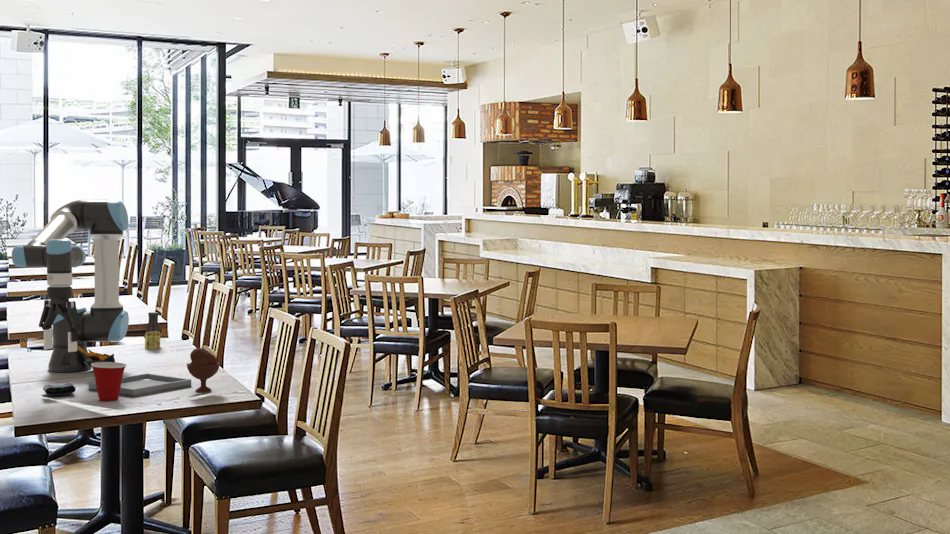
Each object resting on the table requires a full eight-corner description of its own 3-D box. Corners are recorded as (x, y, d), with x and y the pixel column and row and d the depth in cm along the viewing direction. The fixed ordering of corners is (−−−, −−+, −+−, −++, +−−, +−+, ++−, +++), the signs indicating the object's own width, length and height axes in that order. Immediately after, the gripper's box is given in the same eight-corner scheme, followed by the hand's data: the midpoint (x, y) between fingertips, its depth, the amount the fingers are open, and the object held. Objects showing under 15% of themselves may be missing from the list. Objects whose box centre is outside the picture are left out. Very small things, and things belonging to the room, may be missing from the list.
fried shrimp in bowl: (124, 365, 336) (99, 324, 333) (98, 380, 328) (72, 338, 326) (116, 368, 342) (92, 328, 340) (91, 383, 335) (65, 342, 333)
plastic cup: (126, 401, 285) (126, 364, 284) (90, 403, 281) (89, 366, 281) (127, 395, 295) (127, 360, 295) (92, 397, 292) (92, 361, 291)
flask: (45, 387, 290) (42, 384, 299) (45, 396, 290) (42, 393, 299) (75, 384, 295) (72, 381, 304) (76, 393, 295) (72, 390, 304)
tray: (88, 389, 305) (88, 382, 305) (147, 380, 326) (147, 373, 326) (132, 397, 293) (132, 389, 292) (191, 386, 313) (191, 379, 313)
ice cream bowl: (202, 395, 296) (201, 350, 296) (180, 392, 302) (179, 348, 301) (226, 390, 305) (226, 347, 305) (204, 387, 311) (204, 345, 310)
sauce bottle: (145, 359, 377) (145, 313, 376) (143, 357, 382) (143, 312, 381) (161, 358, 380) (161, 312, 379) (159, 356, 385) (159, 311, 384)
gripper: (27, 285, 296) (27, 348, 296) (71, 287, 282) (72, 353, 283) (48, 284, 302) (48, 346, 303) (93, 286, 289) (93, 351, 289)
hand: (60, 350), depth 293 cm, fingers open, 13 cm apart
